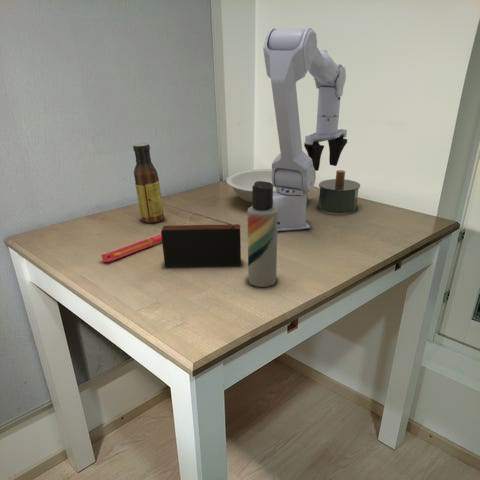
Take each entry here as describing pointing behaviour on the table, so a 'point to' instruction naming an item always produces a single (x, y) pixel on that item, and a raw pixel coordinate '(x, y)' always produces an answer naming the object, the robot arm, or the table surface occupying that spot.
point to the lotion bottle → (262, 236)
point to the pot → (338, 201)
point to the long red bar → (132, 248)
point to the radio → (201, 244)
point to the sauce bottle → (147, 185)
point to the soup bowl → (248, 181)
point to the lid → (339, 183)
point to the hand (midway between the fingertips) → (324, 167)
